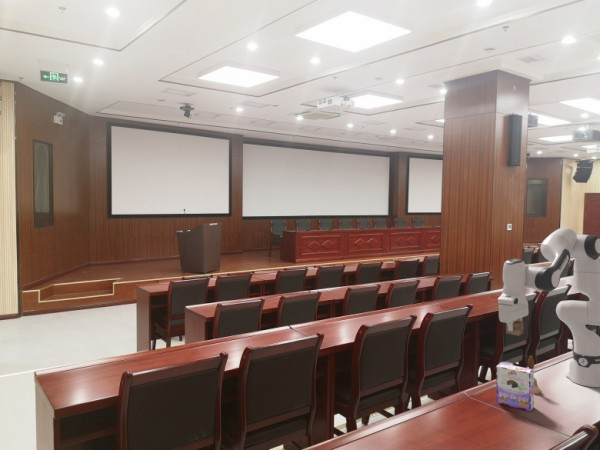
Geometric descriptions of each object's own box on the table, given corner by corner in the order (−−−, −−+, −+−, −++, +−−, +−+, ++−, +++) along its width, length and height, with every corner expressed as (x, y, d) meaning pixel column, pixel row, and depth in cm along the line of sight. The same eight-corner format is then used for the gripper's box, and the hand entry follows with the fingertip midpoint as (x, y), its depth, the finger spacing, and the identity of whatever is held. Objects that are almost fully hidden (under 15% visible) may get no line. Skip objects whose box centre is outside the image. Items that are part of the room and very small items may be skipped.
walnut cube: (511, 331, 189) (511, 319, 188) (523, 333, 185) (523, 321, 185) (506, 333, 185) (506, 321, 185) (518, 335, 182) (517, 323, 181)
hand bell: (545, 393, 197) (544, 358, 196) (526, 393, 197) (526, 359, 196) (535, 386, 205) (535, 352, 205) (517, 386, 205) (517, 353, 205)
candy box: (534, 407, 184) (534, 369, 183) (530, 412, 179) (530, 373, 179) (500, 398, 193) (500, 361, 192) (496, 402, 189) (495, 365, 188)
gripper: (517, 292, 194) (517, 323, 194) (495, 299, 181) (495, 332, 181) (532, 294, 189) (532, 326, 189) (510, 301, 176) (511, 335, 176)
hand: (514, 329), depth 185 cm, fingers closed on walnut cube, 5 cm apart
